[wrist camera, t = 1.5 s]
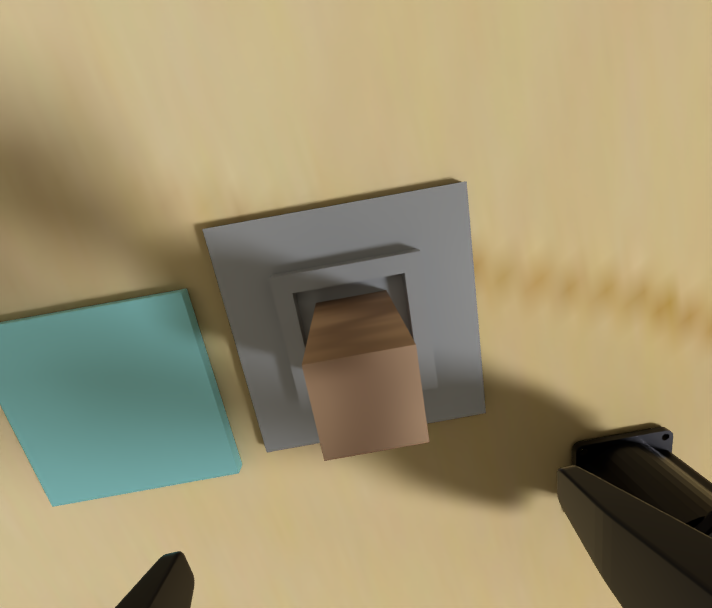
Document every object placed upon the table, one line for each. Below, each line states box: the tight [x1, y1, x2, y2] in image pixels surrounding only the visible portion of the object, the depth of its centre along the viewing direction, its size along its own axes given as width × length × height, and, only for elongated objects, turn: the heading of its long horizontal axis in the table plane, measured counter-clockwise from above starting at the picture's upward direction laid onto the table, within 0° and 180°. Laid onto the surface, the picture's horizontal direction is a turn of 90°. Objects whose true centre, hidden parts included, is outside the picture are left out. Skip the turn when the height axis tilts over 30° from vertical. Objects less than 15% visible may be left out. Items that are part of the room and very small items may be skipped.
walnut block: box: [302, 290, 429, 461], centre depth 17 cm, size 4×4×8 cm
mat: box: [0, 289, 242, 507], centre depth 21 cm, size 12×12×1 cm
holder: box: [202, 181, 486, 452], centre depth 20 cm, size 14×14×2 cm
